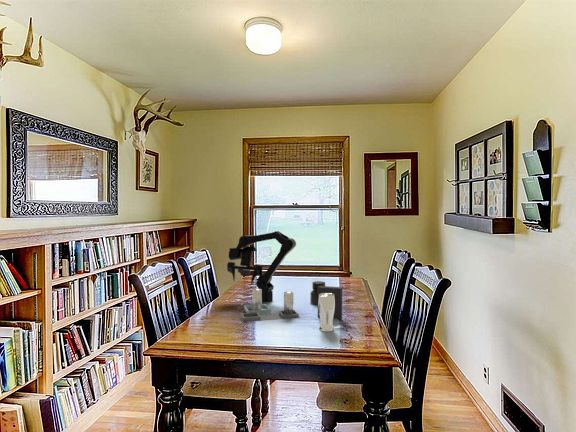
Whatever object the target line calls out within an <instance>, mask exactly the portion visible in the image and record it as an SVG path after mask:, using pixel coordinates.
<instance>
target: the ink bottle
mask: <svg viewBox="0 0 576 432" xmlns="http://www.w3.org/2000/svg"><path fill="white" fill-rule="evenodd" d="M311 285H312V287H311V288H312V290H311V291H310V292H309V293H310V294H309V295H310V303H309V304H310V305H315V306H318V295H317V288H318V287H319V286H326V282H325V281H321V280H317V281H316V280H315V281H312V284H311Z"/></svg>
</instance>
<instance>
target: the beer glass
mask: <svg viewBox="0 0 576 432" xmlns="http://www.w3.org/2000/svg"><path fill="white" fill-rule="evenodd" d="M318 307H319V314H320V317H319V319H320V322H319V331H321V332H323V333H325V332H326V333H331V332H333V331H334V330H335V329H334V318H333V316H334V310H335V298H334V294H332V293H321V294H319V301H318V305H317V308H318Z"/></svg>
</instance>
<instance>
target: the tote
mask: <svg viewBox="0 0 576 432" xmlns="http://www.w3.org/2000/svg"><path fill="white" fill-rule="evenodd" d="M243 310H244V311H245V312H244V313H256V312H258V314H259V315H264V314H272V313H271V311H272V309H271V308H270V307H269V305H268V304H266V303H264V304H263V303H262V310H252V304H249V305H248V304H245V305H243Z"/></svg>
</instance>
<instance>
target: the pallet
mask: <svg viewBox="0 0 576 432" xmlns="http://www.w3.org/2000/svg"><path fill="white" fill-rule="evenodd" d="M239 319H240V321H241V323H250V322H262V321H277V320H279V321H280V320H290V319H292V320H293V319H301V317H300V314H299V313H298V312H297V311H296V310H295V309H293V314H287V315H284V310H278V313H269V314H258V312H256V313H246V312H244V313H243V312H242V313H240V315H239Z"/></svg>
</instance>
